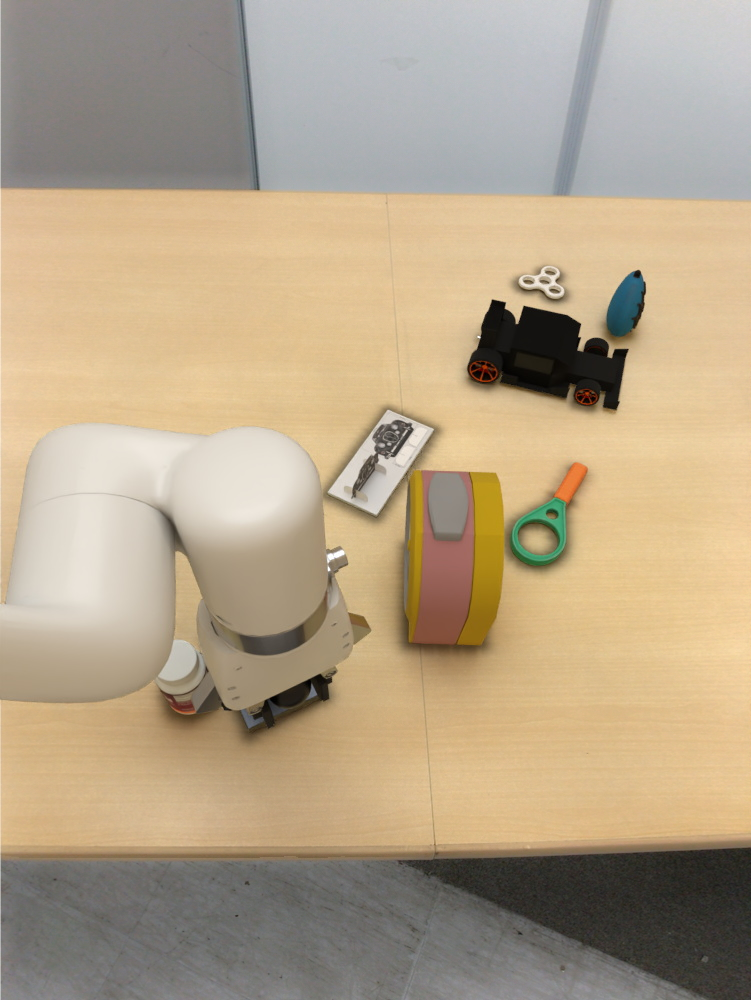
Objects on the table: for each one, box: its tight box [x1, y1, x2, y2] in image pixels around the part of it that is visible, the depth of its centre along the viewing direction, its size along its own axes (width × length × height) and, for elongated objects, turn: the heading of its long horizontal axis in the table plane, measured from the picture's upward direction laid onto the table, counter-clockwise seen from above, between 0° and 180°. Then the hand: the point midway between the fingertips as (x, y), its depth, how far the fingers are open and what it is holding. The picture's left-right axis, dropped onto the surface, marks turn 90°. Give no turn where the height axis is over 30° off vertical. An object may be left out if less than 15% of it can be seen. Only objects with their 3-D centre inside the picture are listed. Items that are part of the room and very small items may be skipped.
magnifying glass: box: [509, 461, 589, 567], centre depth 86 cm, size 15×6×2 cm, turn 148°
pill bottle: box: [154, 638, 208, 715], centre depth 70 cm, size 5×5×8 cm
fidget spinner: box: [518, 265, 565, 300], centre depth 110 cm, size 7×6×1 cm
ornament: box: [605, 269, 647, 338], centre depth 101 cm, size 8×5×10 cm, turn 160°
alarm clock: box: [403, 469, 505, 646], centre depth 73 cm, size 15×8×18 cm, turn 178°
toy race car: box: [466, 298, 630, 411], centre depth 97 cm, size 10×20×7 cm, turn 72°
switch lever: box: [269, 678, 311, 709], centre depth 62 cm, size 13×4×4 cm, turn 27°
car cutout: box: [327, 409, 435, 518], centre depth 89 cm, size 15×7×4 cm, turn 151°
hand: (291, 697), depth 60 cm, fingers open, 4 cm apart
